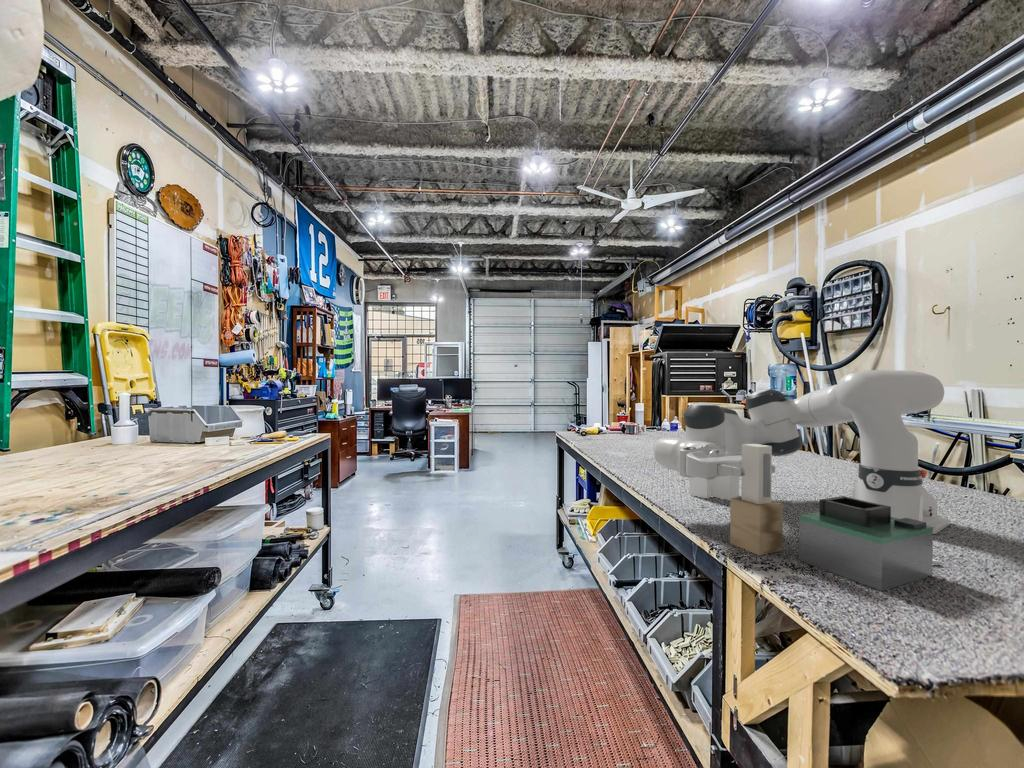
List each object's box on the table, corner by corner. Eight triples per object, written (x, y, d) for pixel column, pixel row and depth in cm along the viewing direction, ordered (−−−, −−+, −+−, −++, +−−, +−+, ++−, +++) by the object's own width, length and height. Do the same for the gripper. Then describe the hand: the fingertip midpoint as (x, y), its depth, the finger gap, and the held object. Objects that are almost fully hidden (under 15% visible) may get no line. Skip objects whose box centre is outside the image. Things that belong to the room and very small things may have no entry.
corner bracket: (689, 495, 136) (690, 457, 136) (705, 489, 143) (705, 453, 143) (725, 502, 128) (725, 462, 128) (739, 496, 135) (739, 458, 135)
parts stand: (752, 539, 97) (752, 495, 97) (782, 550, 91) (782, 503, 91) (730, 543, 95) (730, 498, 95) (759, 555, 88) (759, 506, 88)
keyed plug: (754, 497, 95) (754, 443, 95) (774, 503, 91) (775, 446, 91) (741, 499, 94) (741, 444, 94) (761, 505, 89) (762, 447, 89)
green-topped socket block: (848, 548, 92) (848, 492, 92) (932, 575, 80) (932, 510, 79) (799, 559, 86) (799, 500, 86) (881, 591, 73) (882, 520, 73)
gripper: (736, 470, 109) (790, 481, 96) (674, 476, 101) (723, 490, 88) (736, 445, 109) (790, 453, 96) (674, 449, 101) (723, 459, 88)
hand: (757, 471), depth 92 cm, fingers open, 8 cm apart
